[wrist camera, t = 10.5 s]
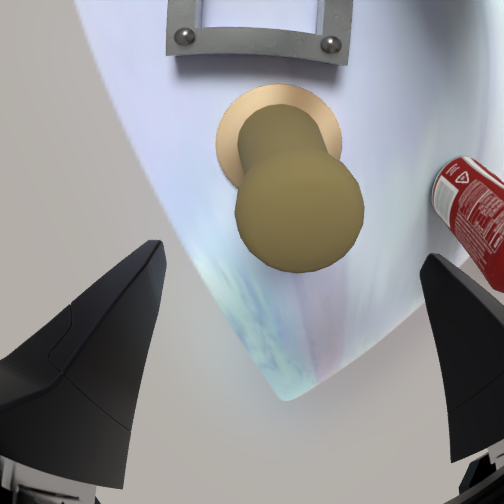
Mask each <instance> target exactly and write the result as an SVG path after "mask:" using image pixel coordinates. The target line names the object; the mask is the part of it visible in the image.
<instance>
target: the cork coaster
mask: <svg viewBox="0 0 504 504" xmlns="http://www.w3.org/2000/svg"><path fill="white" fill-rule="evenodd" d="M276 104H286V105H291V106H295V107H298V108H299V109H301V110H303V111H305V112H306V113H308V114H309V115H310V116H311V117H312V118H313V119H314V121H315V122H316V123H317V125H318V127H319V129H320V132H321V134H322V137H323V140H324V142H325V145H326V148H327V151H328V154H330V155H331V156H333V157H334V158H336V159H338V160H339V159H340V156H341V150H342V136H341V130H340V127H339V124H338V121H337V119H336V117H335V115H334V114H333V112H332V111H331V109H330V108H329V107H328V106H327V105H326V103H325V102H323V101H322V100H321V99H320V98H319V97H317V96H316V95H314V94H313V93H311V92H309V91H307V90H305V89H303V88H300V87H296V86H293V85H287V84H270V85H264V86H260V87H257V88H255V89H252V90H250V91H248V92H246V93H244V94H243V95H241V96H240V97H239V98H237V99H236V100H235V101H234V102H233V103H232V104H231V105H230V106H229V108H228V109H227V110H226V112H225V113H224V115H223V117H222V119H221V121H220V124H219V126H218V130H217V134H216V152H217V157H218V160H219V163H220V166H221V168H222V170H223V172H224V173H225V175H226V176H227V177H228V179H229V180H230V181H231V182H232V183H233V184H234V185H235V186H236V187H238V188H239V186H240V185H241V183H242V181H243V179H244V178H245V176H244V172H243V169H242V165H241V161H240V157H239V152H238V147H237V142H238V135H239V131H240V129H241V127H242V125H243V124H244V122H245V120H246V119H247V118H248V117H249V116H251V115H252V114H253V113H254V112H255V111H257V110H259V109H261V108H263V107H266V106H268V105H276Z"/></svg>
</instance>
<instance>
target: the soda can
mask: <svg viewBox="0 0 504 504" xmlns="http://www.w3.org/2000/svg"><path fill="white" fill-rule="evenodd" d="M432 205H433V208H434V211H435V212H436V214H437V215H438V216H439V217H440V218H441V220H442V221H443V222H444V223H445V224H446V226H447V227H448V228H449V229H450V230H451V232H452V233H453V234H454V235H455V237H456V238H457V239H458V241H459V242H460V243H461V244H462V246H463V247H464V248H465V250H466V251H467V252H468V254H469V255H470V256H471V258H472V259H473V261H474V262H475V263H476V265H477V266H478V268H479V269H480V270H481V272H482V274H483V275H484V277H485V278H486V280H487V281H488V283H489V284H490V285H491V287H492V288H493V289H494V290H497V291H499V292H502V293H504V182H503V181H502V180H501V179H499V178H498V177H497V176H496V175H494V174H493V173H492V172H490V171H489V170H488V169H487V168H485V167H484V166H482V165H481V164H480V163H478V162H477V161H476V160H474V159H472V158H471V157H468V156H459V157H456V158H454V159H452V160H450V161H449V162H448V163H446V164H445V165H444V166H443V168H442V169H441V170H440V172H439V173H438V175H437V177H436V179H435V182H434V185H433V189H432Z"/></svg>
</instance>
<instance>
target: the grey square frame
mask: <svg viewBox="0 0 504 504" xmlns="http://www.w3.org/2000/svg"><path fill="white" fill-rule="evenodd" d="M202 1H203V0H168V9H167V28H166V56H185V55H203V54H250V55H267V56H279V57H289V58H297V59H305V60H312V61H318V62H324V63H329V64H335V65H343V66H347V64H348V55H349V45H350V34H351V22H352V7H353V0H318V10H317V24H316V34H311V33H305V32H298V31H290V30H280V29H269V28H252V27H209V28H201V17H202Z"/></svg>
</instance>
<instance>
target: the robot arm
mask: <svg viewBox="0 0 504 504" xmlns="http://www.w3.org/2000/svg"><path fill="white" fill-rule="evenodd" d="M166 265H167V263H166V256H165V251H164V245H163V242H162V241H161V240H148V241H147V242H145V243H144V244H143V245H141V246H140V247H139V248H138V249H136V250H135V251H134V252H132V253H131V254H130V255H128V256H127V257H126V258H125V259H123V260H122V261H121V262H119V263H118V264H117V265H116V266H114V267H113V268H112V269H111V270H110V271H108V272H107V273H106V274H105V275H103V276H102V277H101V278H100V279H98V280H97V281H96V282H95V283H94V284H92V285H91V286H90V287H89V288H88V289H86V290H85V291H84V292H83V293H82V294H81V295H79V296H78V297H77V298H76V299H75V300H74V301H72V303H71V305H70V304H69V305H68V306H67V307H66V308H64V309H63V310H62V311H61V312H60V313H59V314H58V315H56V316H55V317H54V318H53V319H52V320H51V321H50V322H48V323H47V324H46V325H45V326H43V327H42V328H41V329H40V330H39V331H37V332H36V333H35V334H34V335H32V336H31V337H30V338H29V339H27V340H26V341H25V342H24V343H22V344H21V345H20V346H19V347H18V348H17V349H15V350H14V351H13V352H12V353H10V354H9V355H8V356H7V357H5V358H3V359H1V360H0V504H100V502H99V501H98V499H97V498H96V496H95V493H96V485H97V486H102V487H109V488H115V489H123V484H124V476H125V468H126V461H127V455H128V448H129V442H130V436H131V432H130V431H131V429H132V423H133V418H134V413H135V408H136V403H137V398H138V393H139V389H140V384H141V380H142V375H143V371H144V366H145V362H146V358H147V354H148V350H149V346H150V342H151V338H152V334H153V330H154V327H155V323H156V320H157V316H158V312H159V307H160V301H161V295H162V289H163V284H164V277H165V272H166ZM420 280H421V285H422V289H423V293H424V298H425V303H426V308H427V312H428V316H429V320H430V324H431V328H432V331H433V336H434V340H435V344H436V348H437V352H438V357H439V362H440V367H441V372H442V378H443V383H444V390H445V397H446V404H447V412H448V424H449V435H450V436H449V437H450V456H451V457H450V459H451V463H453V462H456V461H458V460H461V459H463V458H466V457H468V456H470V455H473V454H475V453H477V452H479V451H481V450H484V449H485V448H488V452H487V453H486V454H484V455H482V456H481V457H479V458H477V459H476V460H474V461H472V462H471V463H470V464H469V467H468V469H467V471H466V473H465V475H464V478H463V480H462V482H461V484H460V486H459V496H457V497H455V498H453V499H452V500H450V501H448V502H446V503H444V504H504V305H503V304H501V303H500V302H499V301H498V300H497V299H496V298H494V297H493V296H492V295H491V294H490V293H489V292H488V291H486V290H485V289H484V288H483V287H482V286H480V285H479V284H478V283H477V282H475V281H474V280H473V279H471V278H470V277H469V276H468V275H467V274H465V273H464V272H463V271H461V270H460V269H459V268H458V267H456V266H455V265H454V264H452V263H451V262H450V261H448V260H447V259H445V258H444V257H443V256H441V255H440V254H435V253H431V254H429V255H428V256H427V258H426V260H425V262H424V264H423V266H422V268H421V270H420Z"/></svg>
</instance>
